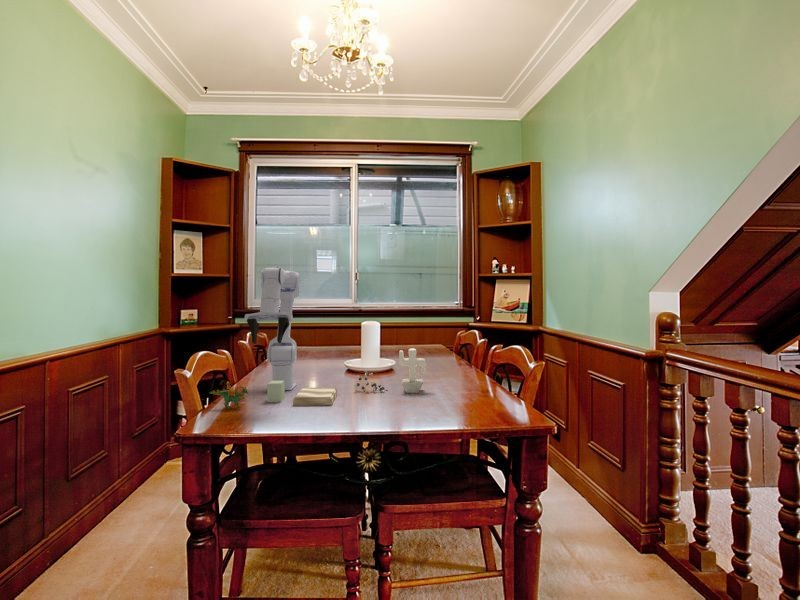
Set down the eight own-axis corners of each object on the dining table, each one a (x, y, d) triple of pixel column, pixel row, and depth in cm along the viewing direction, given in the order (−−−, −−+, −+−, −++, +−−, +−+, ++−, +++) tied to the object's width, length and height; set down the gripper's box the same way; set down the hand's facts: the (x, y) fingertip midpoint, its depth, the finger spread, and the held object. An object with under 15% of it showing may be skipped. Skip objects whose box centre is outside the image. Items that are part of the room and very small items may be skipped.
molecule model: (384, 400, 155) (392, 378, 158) (352, 388, 156) (360, 366, 158) (383, 401, 161) (391, 380, 164) (352, 389, 162) (360, 368, 164)
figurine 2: (426, 393, 156) (426, 350, 155) (398, 393, 156) (398, 350, 156) (425, 388, 163) (425, 347, 162) (399, 388, 163) (399, 347, 163)
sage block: (271, 398, 150) (271, 380, 150) (284, 398, 150) (284, 380, 150) (267, 402, 146) (267, 383, 145) (281, 402, 146) (281, 383, 145)
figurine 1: (247, 409, 137) (246, 382, 137) (207, 409, 137) (207, 382, 137) (250, 406, 140) (250, 380, 140) (211, 406, 140) (211, 380, 140)
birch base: (302, 394, 155) (301, 387, 155) (337, 394, 155) (337, 387, 155) (293, 405, 141) (292, 397, 141) (331, 405, 141) (331, 397, 141)
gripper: (243, 297, 141) (238, 338, 135) (290, 296, 141) (287, 337, 136) (250, 306, 147) (245, 346, 142) (295, 305, 148) (292, 344, 142)
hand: (266, 342), depth 139 cm, fingers open, 7 cm apart
